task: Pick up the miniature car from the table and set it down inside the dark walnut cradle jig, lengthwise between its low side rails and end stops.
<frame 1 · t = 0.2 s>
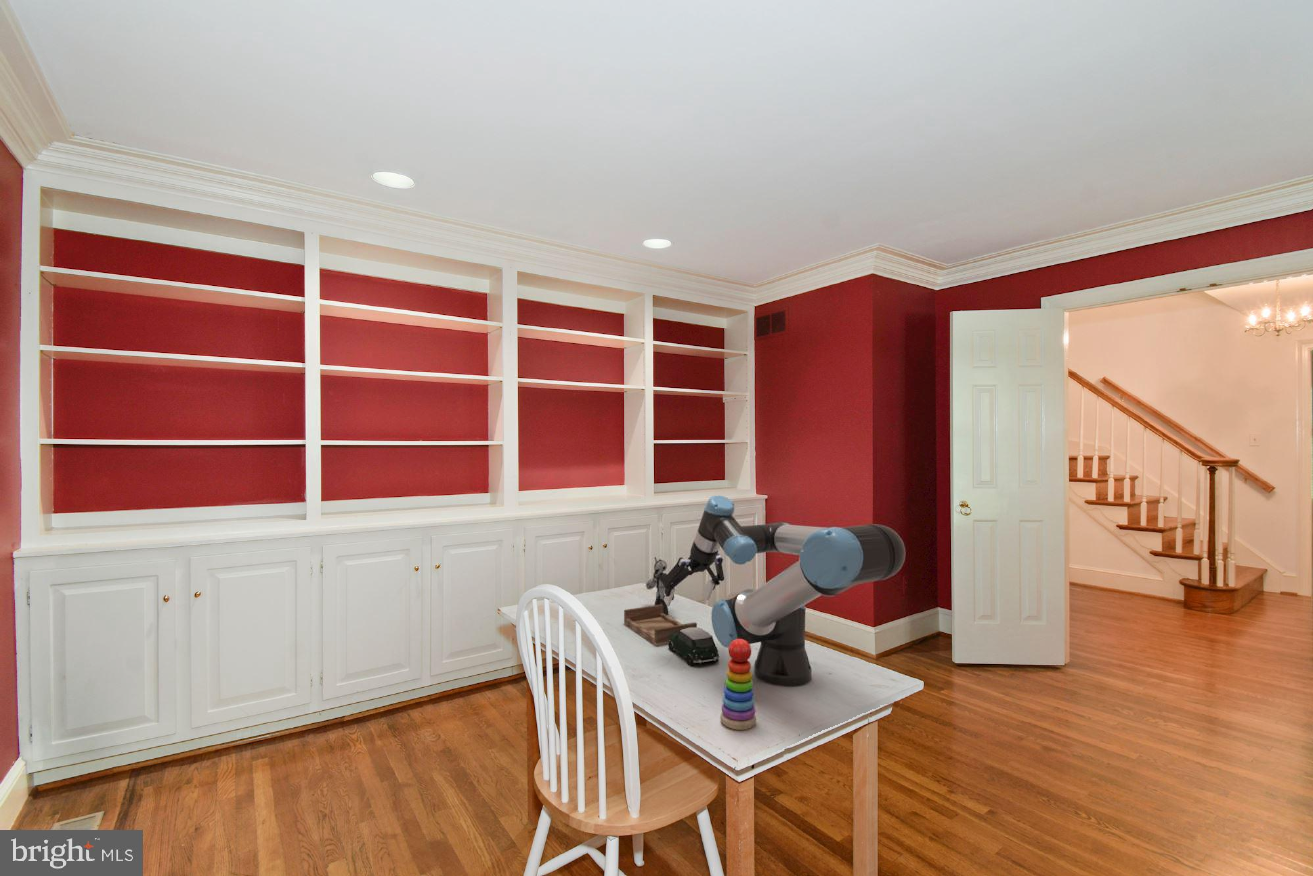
hand: (686, 600, 177), 15 cm above the table, tool tilted 30°, fingers open, 13 cm apart
robot: (660, 613, 214), on the table
cradle: (659, 631, 193), on the table
miniature car: (693, 657, 172), on the table
stacking toy: (738, 723, 132), on the table
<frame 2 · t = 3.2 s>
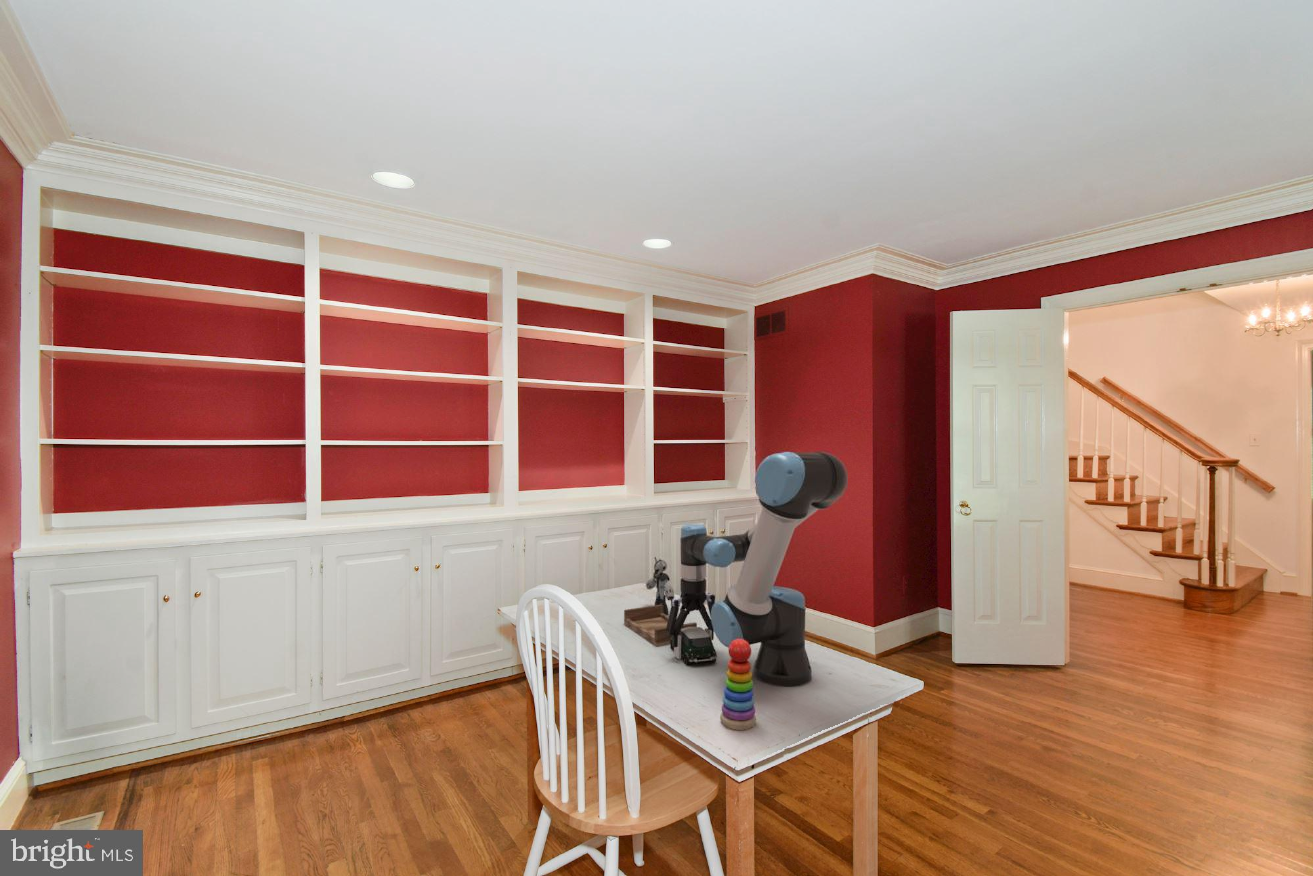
hand: (692, 654, 172), 0 cm above the table, tool pointing down, fingers closed on miniature car, 10 cm apart
miniature car: (692, 656, 173), on the table, touching gripper
everything else where it was.
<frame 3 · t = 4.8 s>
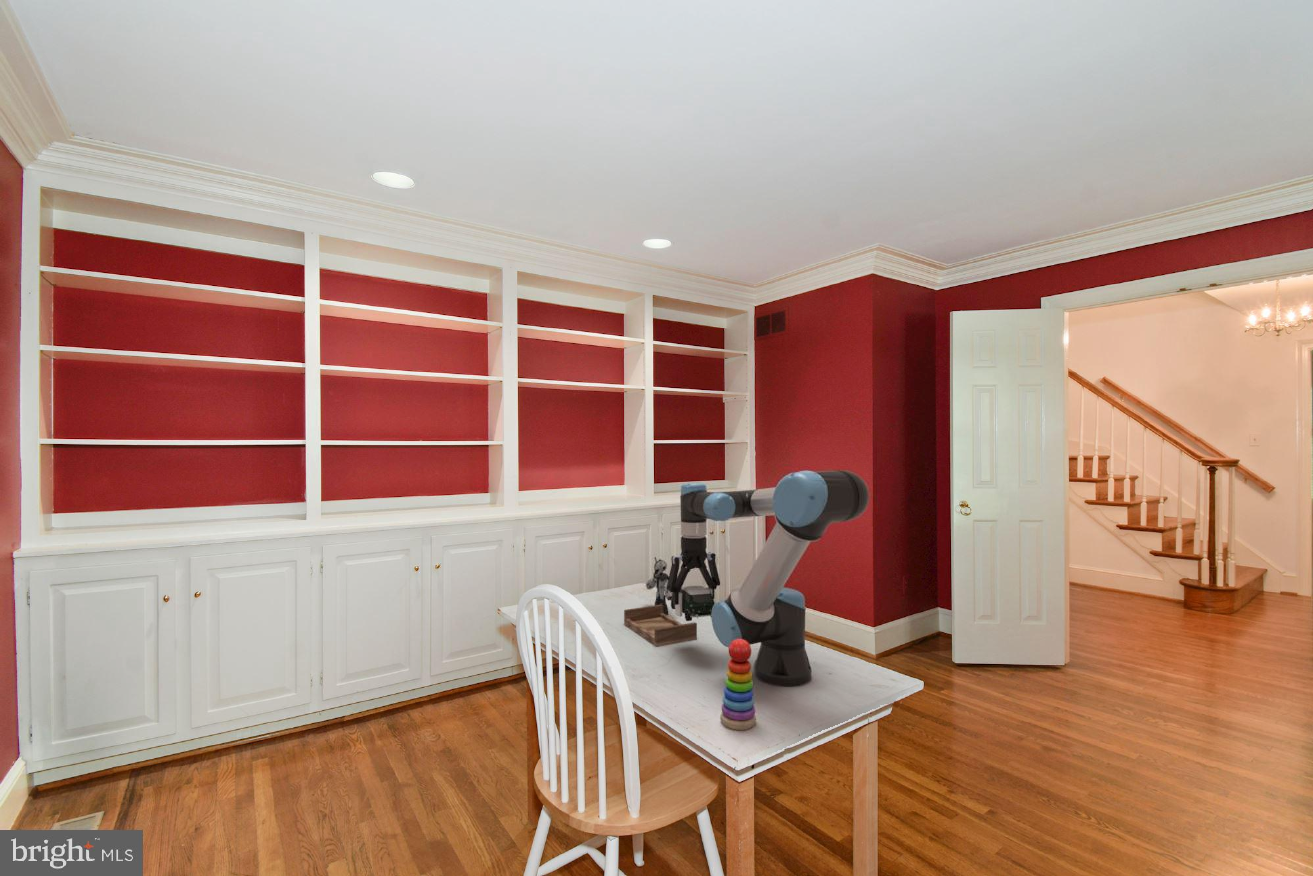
hand: (693, 612, 172), 13 cm above the table, tool pointing down, fingers closed on miniature car, 10 cm apart
miniature car: (693, 614, 172), point 12 cm above the table, touching gripper
everything else where it was.
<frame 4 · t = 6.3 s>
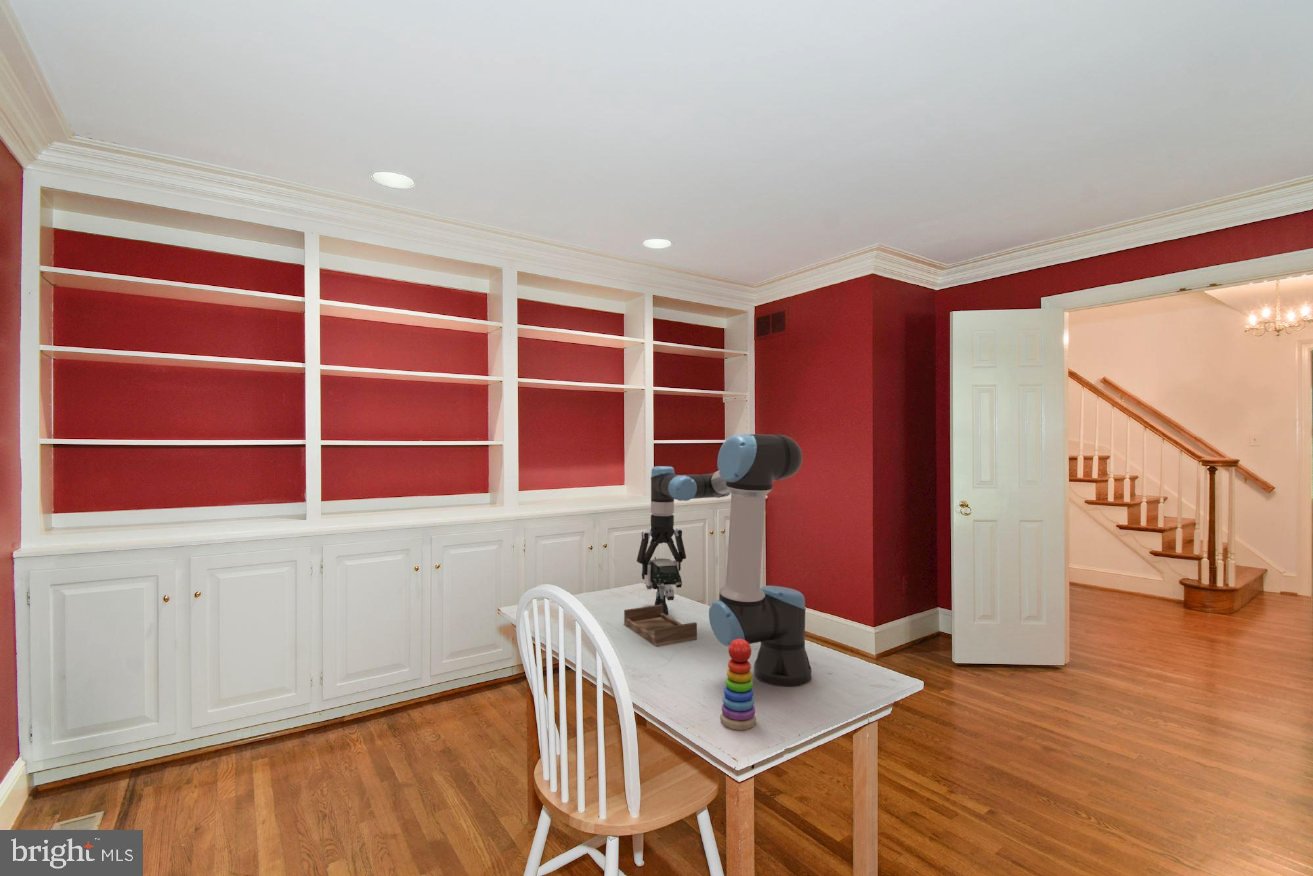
hand: (661, 582, 191), 16 cm above the table, tool pointing down, fingers closed on miniature car, 10 cm apart
miniature car: (661, 584, 192), point 16 cm above the table, touching gripper
everything else where it was.
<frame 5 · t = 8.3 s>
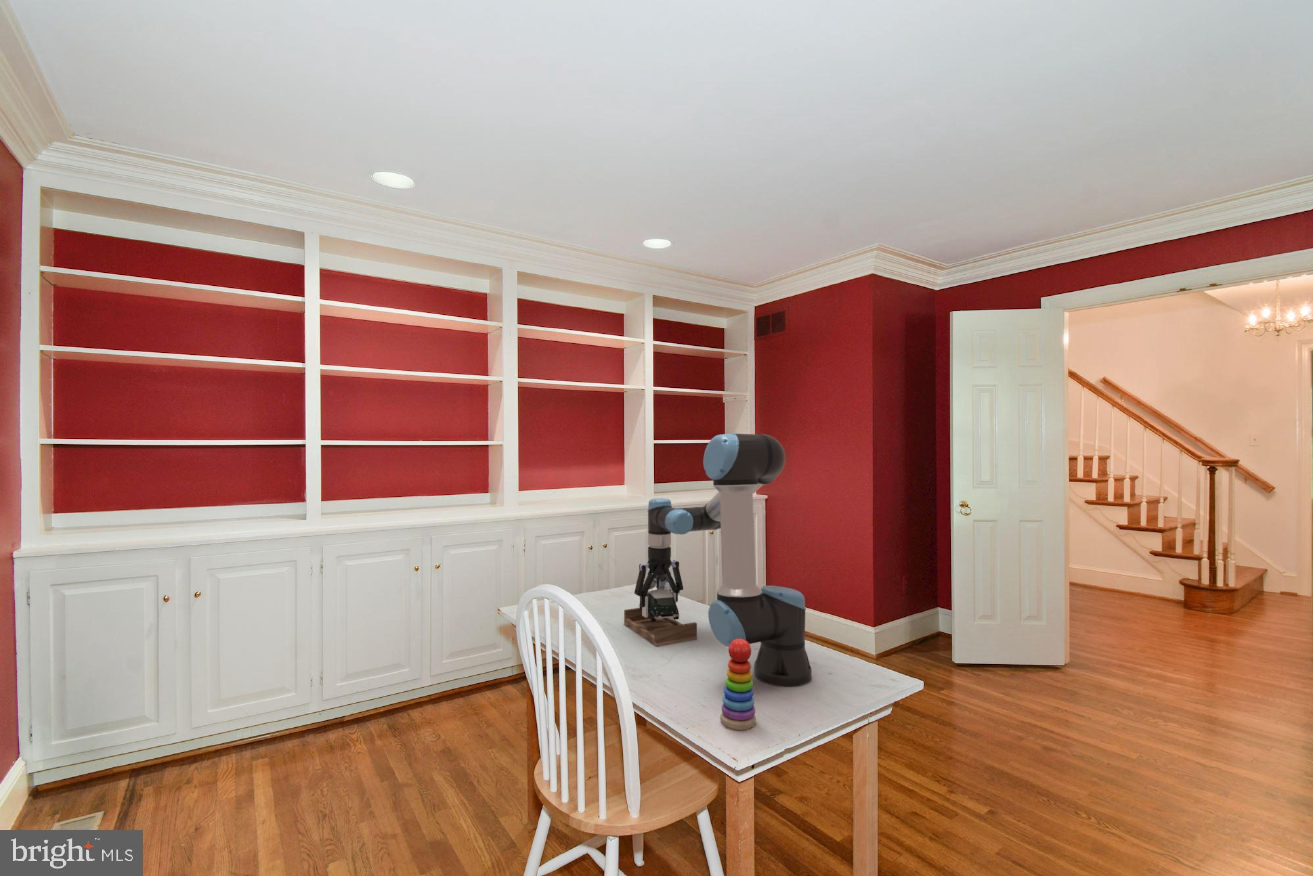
hand: (659, 614, 193), 6 cm above the table, tool pointing down, fingers closed on miniature car, 10 cm apart
miniature car: (658, 615, 193), point 5 cm above the table, touching gripper
everything else where it was.
when the fingers open (3 cm above the table, at t = 9.8 s): miniature car drops 2 cm, resting on cradle.
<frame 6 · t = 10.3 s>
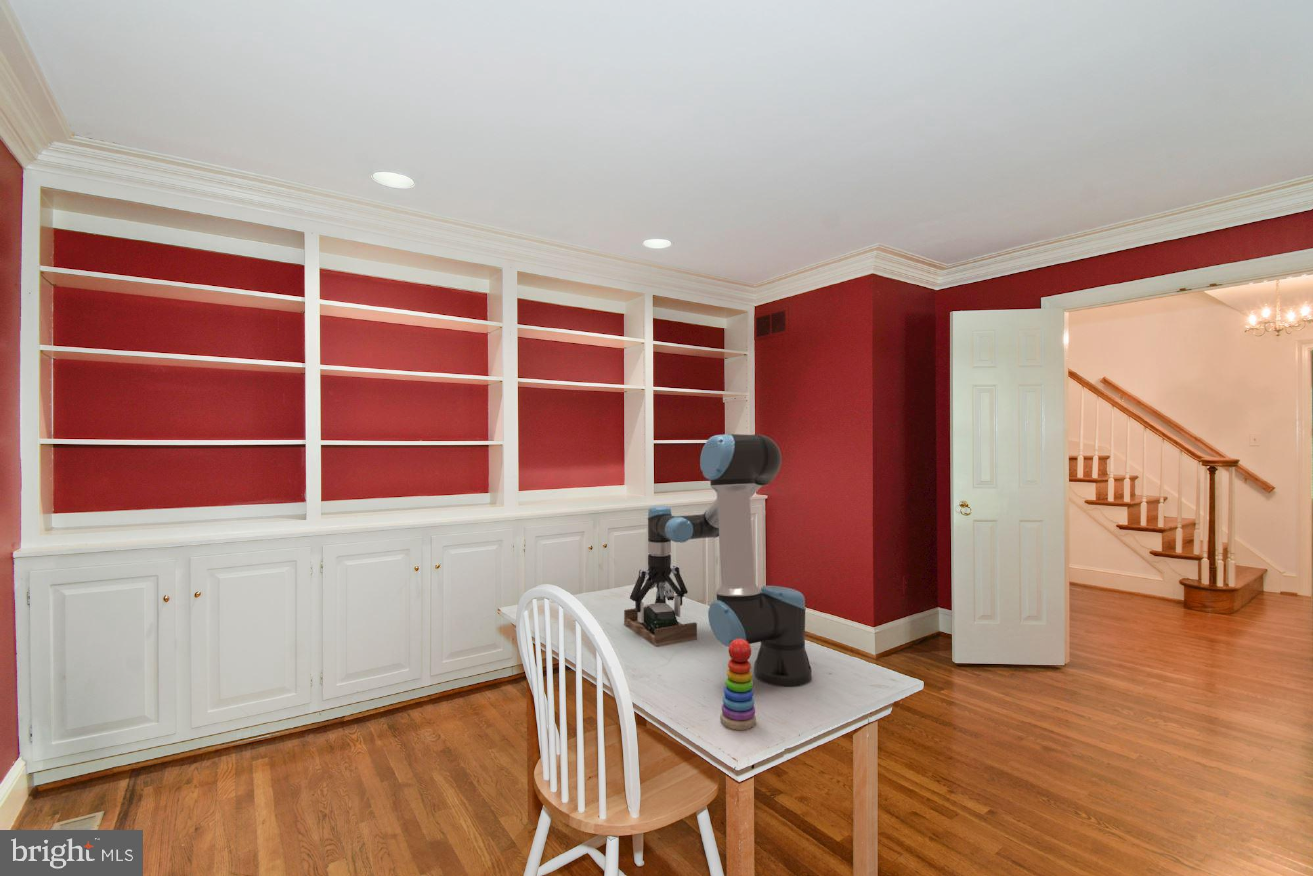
hand: (659, 618, 193), 4 cm above the table, tool pointing down, fingers open, 13 cm apart
miniature car: (658, 629, 193), point 1 cm above the table, touching cradle
everything else where it was.
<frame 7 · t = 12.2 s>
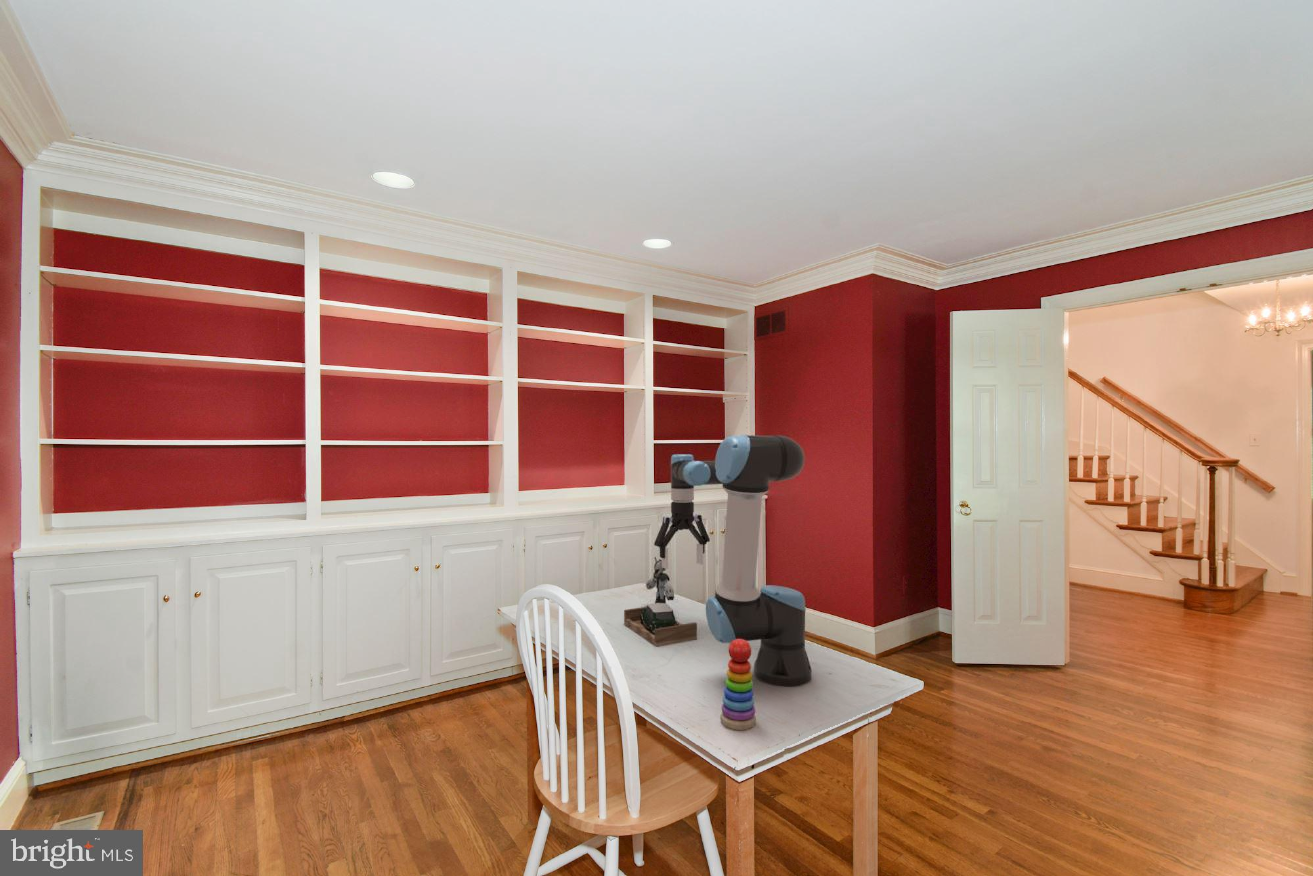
hand: (682, 565, 194), 21 cm above the table, tool pointing down, fingers open, 13 cm apart
nothing on the table moved.
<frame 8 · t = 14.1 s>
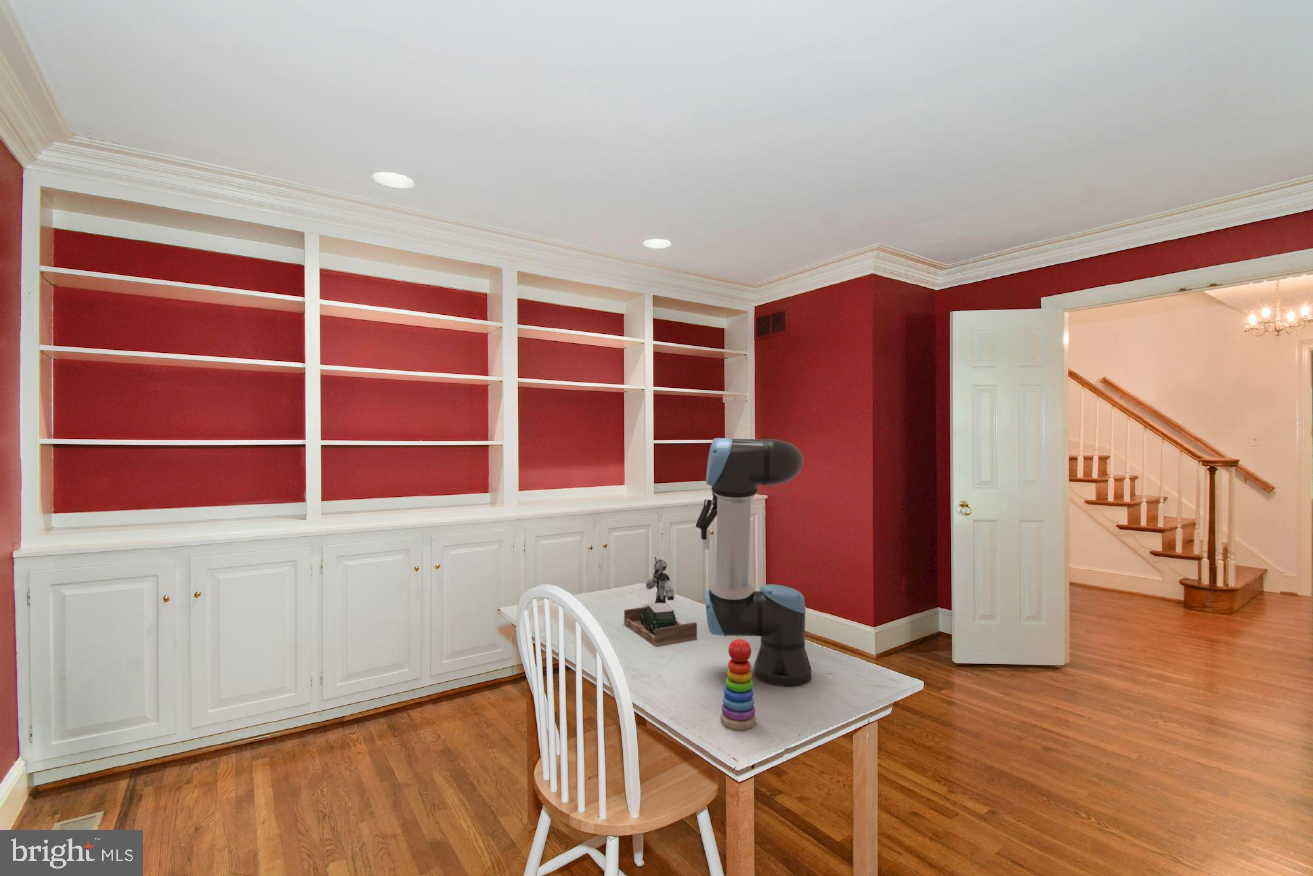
hand: (723, 547, 197), 27 cm above the table, tool pointing down, fingers open, 13 cm apart
nothing on the table moved.
at the end: miniature car 0.2 cm off-centre on the cradle, point 0.8 cm above the cradle's base; miniature car tilted 0°; the gripper is holding nothing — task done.
